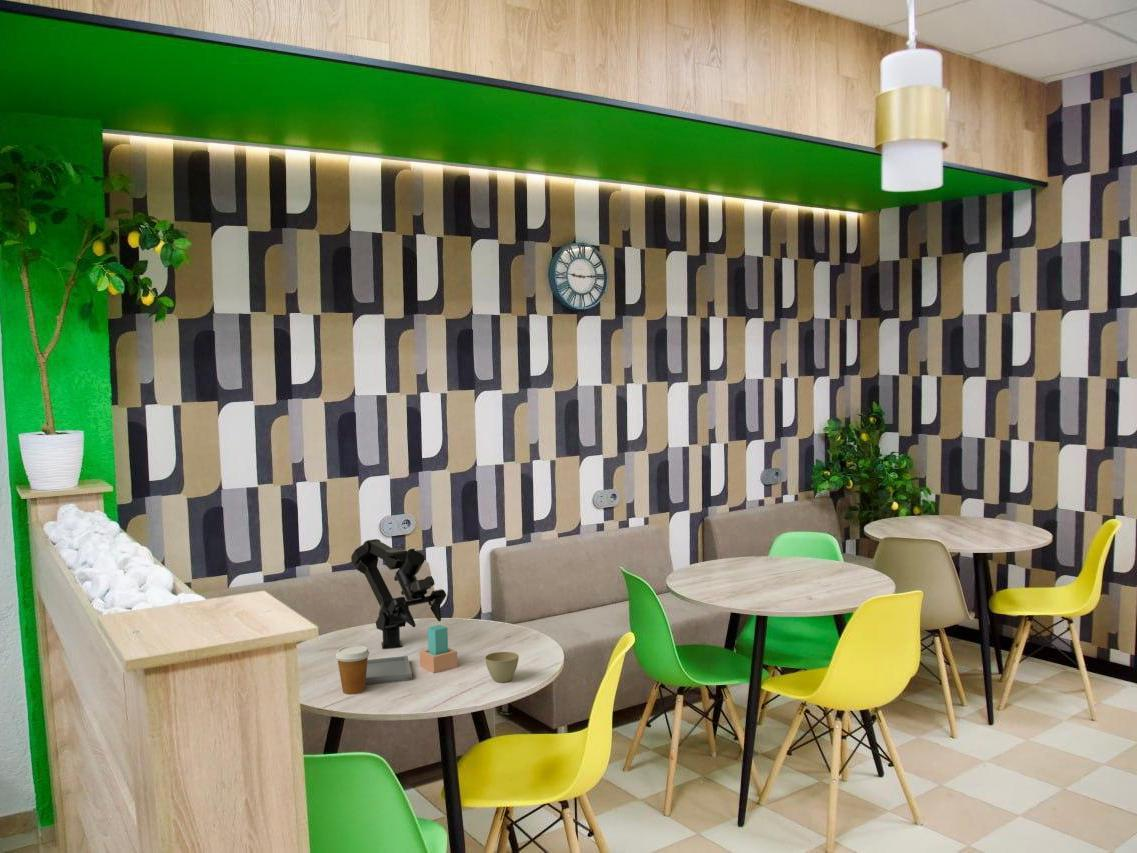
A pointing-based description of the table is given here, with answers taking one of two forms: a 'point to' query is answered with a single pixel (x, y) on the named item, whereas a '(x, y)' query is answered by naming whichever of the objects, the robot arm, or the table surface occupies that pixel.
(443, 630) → the teal block
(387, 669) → the tray
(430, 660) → the holder
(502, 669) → the flower pot
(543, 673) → the table surface
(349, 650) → the disposable coffee cup
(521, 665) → the table surface
